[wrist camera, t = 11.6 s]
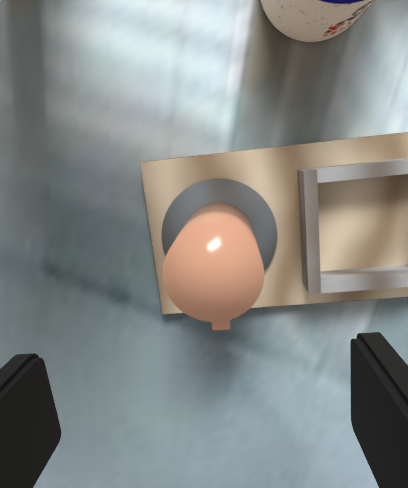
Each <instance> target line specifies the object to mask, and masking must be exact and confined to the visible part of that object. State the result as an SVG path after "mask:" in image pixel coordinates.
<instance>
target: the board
mask: <svg viewBox="0 0 408 488" xmlns="http://www.w3.org/2000/svg"><path fill="white" fill-rule="evenodd" d="M140 165H141V172H142V179H143V185H144V192H145V199H146V206H147V212H148V219H149V226H150V232H151V239H152V246H153V252H154V259H155V266H156V273H157V279H158V286H159V293H160V299H161V306H162V313H163V314H173V313H184V312H182V311H181V310H180V309H179V308H177V307H176V305H175V304H174V303H173V302H172V300H171V299H170V298H169V296H168V294H167V292H166V289H165V286H164V282H163V264H164V260H165V257H166V255H167V253H168V251H169V249H170V247H171V246H172V244H173V243H174V241H175V239H176V238H177V236H178V235H179V233H180V231H181V230H182V228H183V227H184V225H185V223H186V222H187V220H188V219H189V217H190V216H191V214H192V213H193V212H194V211H195V210H197V209H198V208H200V207H201V206H203V205H205V204H208V203H213V202H224V203H229V204H231V205H234V206H236V207H237V208H239V209H240V210H241V211H242V212H244V214H245V215H246V216H247V217H248V219H249V221H250V223H251V225H252V229H253V232H254V235H255V239H256V242H257V245H258V249H259V252H260V256H261V259H262V262H263V266H264V284H263V288H262V291H261V293H260V295H259V297H258V299H257V300H256V302H255V303H254V304H253V306H252V307H251V308H257V307H271V306H286V305H300V304H314V303H328V302H342V301H356V300H370V299H384V298H398V297H408V132H404V133H395V134H386V135H377V136H368V137H359V138H351V139H342V140H333V141H324V142H315V143H306V144H297V145H289V146H280V147H271V148H262V149H253V150H244V151H236V152H227V153H218V154H209V155H200V156H191V157H183V158H174V159H165V160H156V161H147V162H140Z"/></svg>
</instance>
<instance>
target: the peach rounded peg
mask: <svg viewBox="0 0 408 488" xmlns="http://www.w3.org/2000/svg"><path fill="white" fill-rule="evenodd" d="M163 282H164V286H165V289H166V292H167V294H168V296H169V298H170V299H171V300H172V302H173V303H174V304H175V305H176V307H177V308H179V309H180V310H181V311H182V312H184V313H185V314H187V315H188V316H190V317H192V318H195V319H198V320H201V321H205V322H212V330H213V331H214V330H229V329H230V320H231V319H234V318H236V317H238V316H240V315H242V314H243V313H245V312H246V311H248V310H249V309H250V308H251V307H252V306H253V304H254V303H255V302H256V300H257V299H258V297H259V295H260V293H261V291H262V288H263V284H264V266H263V262H262V259H261V256H260V252H259V249H258V245H257V242H256V239H255V235H254V232H253V229H252V225H251V223H250V221H249V219H248V217H247V216H246V215H245V214H244V212H242V211H241V210H240V209H239V208H237V207H236V206H234V205H231V204H229V203H224V202H213V203H208V204H205V205H203V206H201V207H200V208H198V209H197V210H195V211H194V212H193V213H192V214H191V216H190V217H189V219H188V220H187V222H186V223H185V225H184V227H183V228H182V230H181V231H180V233H179V235H178V236H177V238H176V239H175V241H174V243H173V244H172V246H171V247H170V249H169V251H168V253H167V255H166V257H165V260H164V264H163Z"/></svg>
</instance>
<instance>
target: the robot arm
mask: <svg viewBox="0 0 408 488" xmlns="http://www.w3.org/2000/svg"><path fill="white" fill-rule="evenodd" d="M351 421H352V426H353V430H354V433H355V435H356V437H357V439H358V441H359V444H360V446H361V448H362V450H363V453H364V455H365V457H366V459H367V462H368V464H369V466H370V468H371V470H372V473H373V475H374V477H375V479H376V482H377V484H378V486H379V488H408V365H407V364H406V363H405V362H404V361H403V359H402V358H401V357H400V356H399V355H398V353H397V352H396V351H395V350H394V349H393V347H392V346H391V345H390V344H389V343H388V341H387V340H386V339H385V338H384V337H383V335H382V334H381V333H379V332H374V333H359V334H358V335H357V339H352V340H351ZM60 438H61V428H60V424H59V420H58V415H57V411H56V407H55V403H54V399H53V395H52V391H51V387H50V383H49V379H48V375H47V371H46V367H45V363H44V360H43V359H42V358H39V356H38V355H37V354H19V355H15V356H14V357H13V358H12V359H11V360H10V361H9V362H8V363H6V364H5V365H4V366H3V367H2V368H1V369H0V488H33V486H34V485H35V483H36V481H37V480H38V478H39V476H40V474H41V473H42V471H43V469H44V467H45V466H46V464H47V462H48V461H49V459H50V457H51V455H52V454H53V452H54V450H55V449H56V447H57V445H58V443H59V441H60Z"/></svg>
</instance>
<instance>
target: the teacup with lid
mask: <svg viewBox="0 0 408 488" xmlns="http://www.w3.org/2000/svg"><path fill="white" fill-rule="evenodd" d="M374 1H375V0H261V4H262V7H263V9H264V11H265V14H266V15H267V17H268V19H269V20H270V22H271V23H272V24H273V25H274V26H275V27H276V28H277V29H278V30H279V31H280V32H281V33H283V34H284V35H286V36H288V37H290V38H292V39H295V40H298V41H303V42H318V41H323V40H327V39H330V38H332V37H335V36H337V35H339V34H340V33H342V32H343V31H345V30H346V29H348V28H349V27H350V26H351V25H352V24H353V23H354V22H355V21H356V20H357V19H358V18H359V17H360V16H361V15H362V14H363V13H364V12H365V11H366V10H367V9H368V7H369V6H370V5H371V4H372V3H373V2H374Z"/></svg>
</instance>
